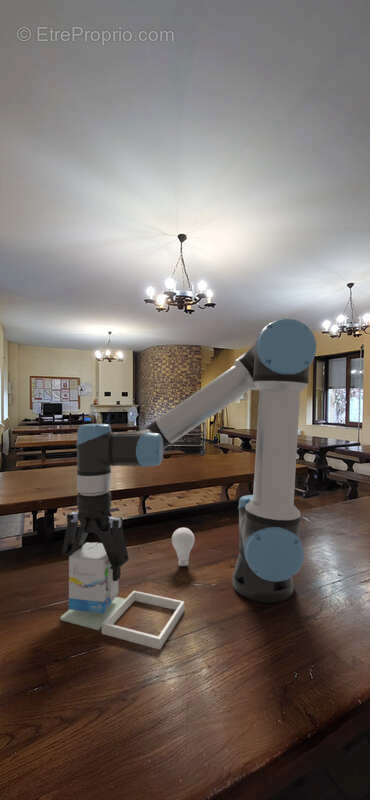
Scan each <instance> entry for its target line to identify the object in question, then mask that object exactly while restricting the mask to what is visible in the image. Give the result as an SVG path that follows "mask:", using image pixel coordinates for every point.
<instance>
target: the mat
mask: <svg viewBox="0 0 370 800" xmlns="http://www.w3.org/2000/svg"><path fill="white" fill-rule="evenodd" d="M125 599H126V598H123V597H119V596H116V597H115V598H114V600H113V601H112V602H111V604H110V605H109V607H108V608H107V609H106V611H105V612H104V613H94V612H85V611H78V610H70V609H69V608H68V610H67V611H66V612H65V613H63V614H62V615H61V616H60V617H59V618H60V621H62V622H63V621H64V622H67V623H69V624H73V625H77V626H82V627H84V628H89V629H92V630H96V631H100V630H102V623H103V622H104V621H105V620H106V619H107V618H108V617H109V616H110V615H111V614H112V613H113V612H114V610H115V609H116V608H117V607H118V606H119V605H120V604H121V603H122V602H123V601H124V600H125Z"/></svg>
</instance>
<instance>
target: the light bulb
mask: <svg viewBox="0 0 370 800" xmlns="http://www.w3.org/2000/svg"><path fill="white" fill-rule="evenodd" d="M195 539H196V538H195V536H194V533H193V532H192V531H191V529H189V528H188V527H179V528H177V529H176V530H174V532H173V534H172V536H171V545H172V547H173V548H174V549H175V552H176V555H177V558H178V560H177V561H178V563H177V564H178V566H180V567H187V566H188V565H189V557H190V552H191V550H192V549H193V547H194V545H195V542H196V540H195Z"/></svg>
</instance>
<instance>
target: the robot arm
mask: <svg viewBox="0 0 370 800" xmlns="http://www.w3.org/2000/svg"><path fill="white" fill-rule="evenodd" d="M316 353H317V340H316V337H315V334H314V333H313V331H312V330H311V329H310V328H309V327H308V326H307V325H306V323H303V322H301V321H299V320H297V319H293V318H281V319H277V320H274V321H272V322H270V323H269V324H267V325H266V326H265V327H263V328H262V330H261V331H260V332H259V333H258V336H257V339H256V340H255V341H254V343H253V344H252V345H251V347H249V348H248V350H246V352H244V353H243V354H242V355H240V356H239V357H238V358H236V359H235V362H234V365H233V366H232V367H230V368H229V369H227V370H226V371H224V372H223V373H221V374H220V375H218V377H216V378H214V379H213V380H211V381H210V382H209V383H207V384H206V385H204V386H203V387H201V388H200V389H198V390H197V391H196V392H194V393H193V394H191V395H189V397H187V398H186V399H184V400H182V401H181V402H180V403H178V404H177V405H175V406H174V407H173V408H171V409H170V410H169V411H167V412H166V413H164V414H163V415H161V416H160V417H159V418H157V419H156V420H154V421H152V422H151V423H149V424H148V425H147V426H145V427H144V428H142V429H141V430H138V431H135V432H112V427H111V425H110V424H108V423H87V424H86V423H84V424H81V425H79V427H78V428H77V434H76V435H77V436H76V444H75V446H76V465H77V466H76V469H77V470H76V472H77V473H76V491H77V492H78V494H77V495H76V497H77V498H76V502H77V503H76V508H77V510H78V512H77V511H75V510H74V511H72V512H70V513H68V514H67V515H66V524H67V525H66V529H65V534H64V535H65V536H64V540H63V544H62V550H61V554H62V555H63V556H67V557H68V558H69V557H70V556H71V555H72V554H73V553H75V552H76V551H77V550H78V549H79V548H81V547H82V546H83V545H84V544H85V543H86V542H85V541H86V539H87V537H88V535H89V534H90V533H92V534H94V535H96V536H97V537H98V539H100V541H101V543H102V544H103V546H104V549H105V551H106V554H107V556H108V559H109V561H110V564H111V565H110V566H109V567H108V597H112V596H113V595H114V594H115V593H116V592H117V591H118V592H119V580H120V579H121V567H122V566H123V565H125V564H126V563H127V562H128V561H129V559H130V558H129V553H128V547H127V544H126V540H125V533H124V530H123V522H124V519H123V517H122V516H119V517H113V516H112V513H111V507H112V492H111V491H110V490H111V489H112V486H111V485H112V482H111V481H112V473H111V471H112V466H113V467H117V466H118V467H120V466H121V467H126V466H127V467H144V468H148V467H157V466H160V465H161V464H162V462H163V457H164V450H165V449H166V448H168V447H169V446H171V445H172V444H173V443H175V442H176V441H178V440H179V439H181V438H182V437H184V436H185V435H186V434H188V433H189V432H191V431H192V430H194V429H195V428H197V427H198V426H200V425H201V424H203V423H204V422H206V421H207V420H209V419H210V418H211V417H213V416H215V415H216V414H218V413H219V412H220V411H222V410H223V409H225V408H226V407H228V406H229V405H231V404H232V403H234V402H235V401H236V400H238V399H240V398H241V397H243V396H244V395H246V394H247V393H248V392H249V391H252V390H254V391H258V394H259V395H258V409H257V411H258V412H257V425H256V426H257V428H256V440H255V442H256V443H255V444H256V445H255V457H254V458H255V459H254V460H255V462H254V473H253V475H254V476H253V477H254V478H253V489H252V490H253V492H252V494H247V495H243V496H241V497H240V498H239V499H238V500H239V501H238V506H237V509H238V514H239V515H238V528H239V529H238V533H239V535H238V537H239V538H238V539H239V540H238V542H239V544H238V545H239V551H238V552H239V553H238V557H237V560H236V564H235V567H234V570H233V572H232V573H233V574H232V586H233V588H234V590H235V591H236V592H237V593H238V594H239V595H241V596H242V597H244V598H246V599H248V600H251V601H254V602H259V603H267V604H270V603H280V602H283V601H285V600H287V599H289V598H291V597H292V595H293V593H294V580H293V576H295V575H296V574H298V573H299V571H300V570H301V569H302V567H303V564H304V559H305V553H304V552H305V551H304V545H303V542H302V541H301V539H300V532H301V531H300V530H301V511H300V510H299V509H298V508H297V507H296V505H295V504H294V501H295V485H296V483H295V482H296V470H297V456H298V455H297V454H298V453H297V451H298V439H299V438H298V437H299V434H298V433H299V418H300V417H299V416H300V405H301V404H300V403H301V393H302V392H303V391H304V390H305V389H307V388H308V386H309V379H310V378H309V377H310V366H311V364H312V363H313V362H314V358H315V356H316ZM79 523H80V527H79V528H78V525H79Z"/></svg>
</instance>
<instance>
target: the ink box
mask: <svg viewBox="0 0 370 800" xmlns="http://www.w3.org/2000/svg"><path fill="white" fill-rule="evenodd" d="M110 565H111V564H110V561H109V559H108V556H107V554H106V551H105V549H104V546H103V544H102V542H84V544H83V546H82V547H81V548H79V549H78V550H77V551H76V552H75V553H73V554H72V555H71V556H70V557H68V610H69V609H70V610H78V611H85V612H94V613H104V612H105V611H106V609H107V608H108V607H109V605H110V604H111V602H112V601H113V600H114V598H115V597H118V594H119V590H118V591H117V592H116V593H115V594H114V595H113V596H112V597H108V567H109V566H110Z"/></svg>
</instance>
